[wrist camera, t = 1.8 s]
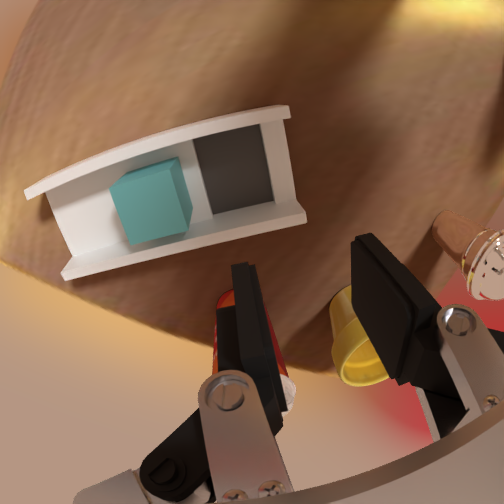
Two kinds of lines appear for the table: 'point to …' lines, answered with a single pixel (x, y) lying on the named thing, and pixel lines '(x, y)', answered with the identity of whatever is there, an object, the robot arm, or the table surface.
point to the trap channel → (198, 184)
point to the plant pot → (353, 345)
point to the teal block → (153, 201)
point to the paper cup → (287, 383)
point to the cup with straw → (473, 253)
